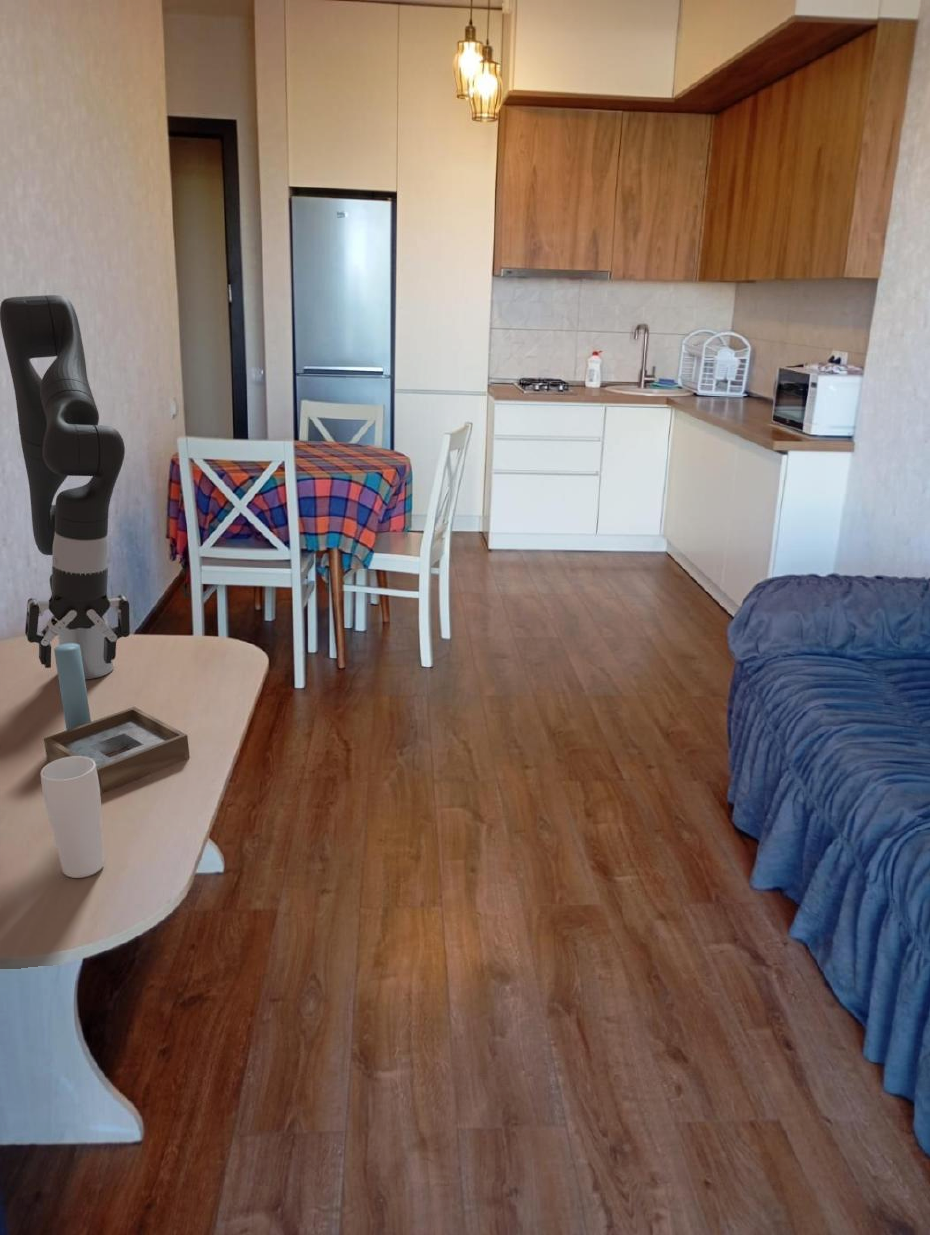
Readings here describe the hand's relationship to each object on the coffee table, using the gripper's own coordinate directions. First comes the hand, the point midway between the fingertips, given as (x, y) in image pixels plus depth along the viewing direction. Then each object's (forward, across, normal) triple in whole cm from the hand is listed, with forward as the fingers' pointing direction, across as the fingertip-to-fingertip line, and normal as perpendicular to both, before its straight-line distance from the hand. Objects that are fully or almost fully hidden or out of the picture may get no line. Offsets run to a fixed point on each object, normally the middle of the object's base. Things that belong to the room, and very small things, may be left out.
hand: (77, 663), depth 150 cm
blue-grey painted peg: (+20, -3, -13) cm, 24 cm away
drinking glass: (+17, +4, +28) cm, 33 cm away
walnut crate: (+18, -7, -1) cm, 20 cm away
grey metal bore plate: (+18, -7, -1) cm, 20 cm away
